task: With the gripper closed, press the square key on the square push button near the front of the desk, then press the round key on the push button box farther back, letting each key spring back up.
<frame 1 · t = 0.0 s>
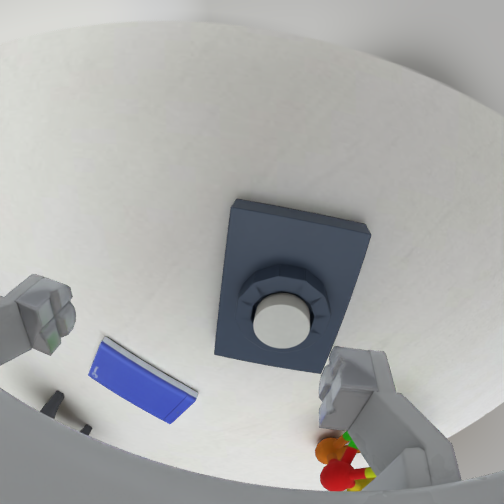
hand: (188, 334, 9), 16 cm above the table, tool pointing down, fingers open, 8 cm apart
planter: (66, 408, 43), on the table
push button box: (284, 289, 26), on the table
molecular model: (369, 424, 34), on the table
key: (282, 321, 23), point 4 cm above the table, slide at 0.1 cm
hard drive: (141, 379, 35), on the table
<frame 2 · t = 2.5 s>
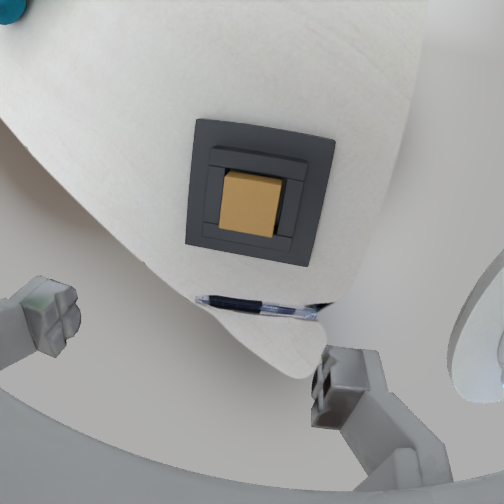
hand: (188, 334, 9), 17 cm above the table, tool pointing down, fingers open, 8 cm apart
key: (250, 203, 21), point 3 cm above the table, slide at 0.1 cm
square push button: (256, 191, 24), on the table
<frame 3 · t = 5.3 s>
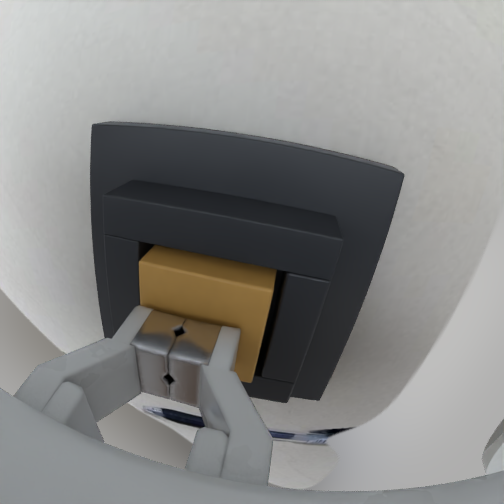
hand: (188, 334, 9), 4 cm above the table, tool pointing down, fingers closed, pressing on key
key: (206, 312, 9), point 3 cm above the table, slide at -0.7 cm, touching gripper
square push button: (224, 270, 12), on the table
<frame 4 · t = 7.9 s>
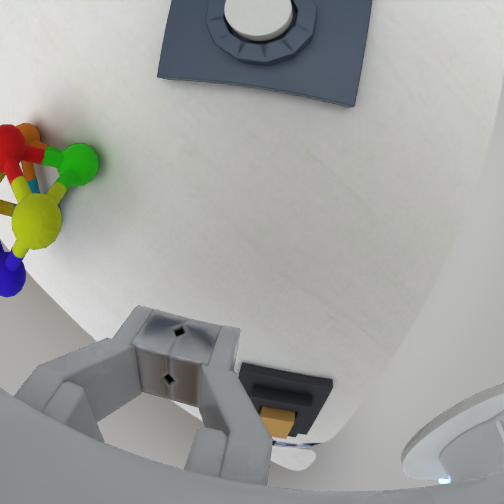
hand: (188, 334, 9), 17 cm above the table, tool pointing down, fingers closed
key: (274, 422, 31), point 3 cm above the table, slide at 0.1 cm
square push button: (277, 399, 34), on the table
push button box: (266, 27, 19), on the table
molecular model: (61, 180, 27), on the table
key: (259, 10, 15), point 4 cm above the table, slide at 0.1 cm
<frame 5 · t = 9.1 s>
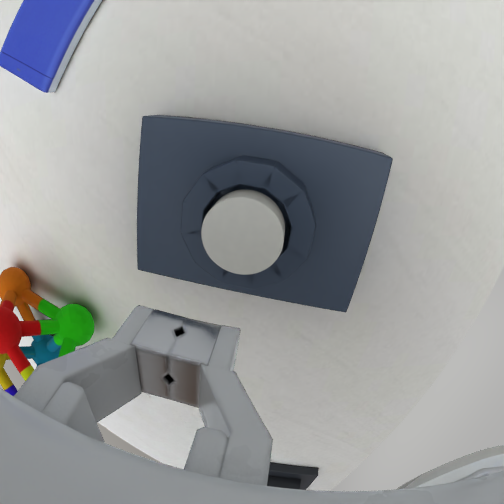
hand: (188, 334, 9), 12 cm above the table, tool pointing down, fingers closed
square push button: (272, 477, 35), on the table
push button box: (255, 206, 20), on the table
molecular model: (60, 320, 28), on the table
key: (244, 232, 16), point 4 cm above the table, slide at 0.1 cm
hard drive: (63, 7, 15), on the table
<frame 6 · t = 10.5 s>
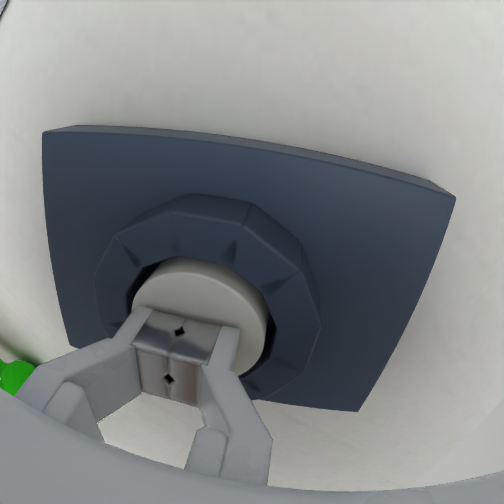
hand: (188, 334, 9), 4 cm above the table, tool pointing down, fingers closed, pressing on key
push button box: (224, 265, 13), on the table
molecular model: (14, 370, 20), on the table
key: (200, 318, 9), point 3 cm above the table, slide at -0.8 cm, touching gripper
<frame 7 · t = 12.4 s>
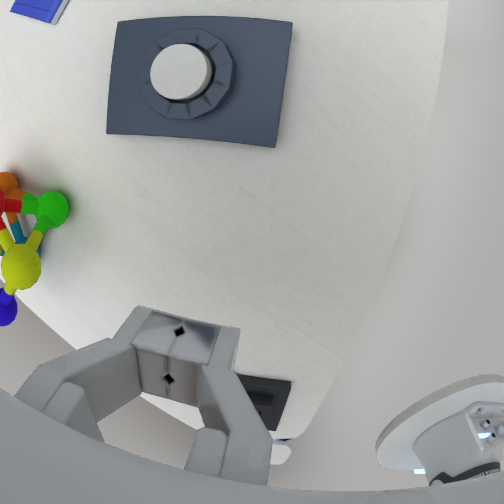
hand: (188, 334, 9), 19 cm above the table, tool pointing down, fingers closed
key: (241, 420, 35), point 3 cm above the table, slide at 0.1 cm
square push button: (245, 400, 38), on the table
push button box: (197, 77, 23), on the table
molecular model: (40, 220, 30), on the table
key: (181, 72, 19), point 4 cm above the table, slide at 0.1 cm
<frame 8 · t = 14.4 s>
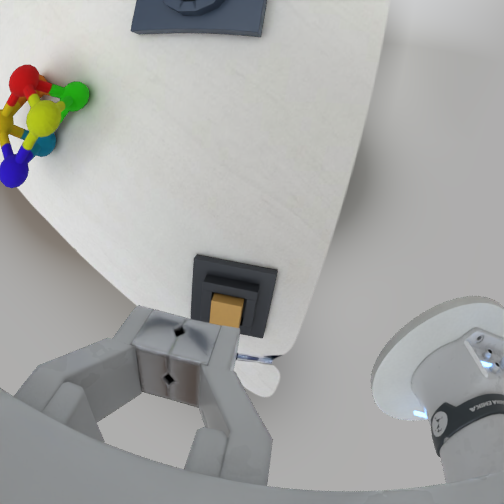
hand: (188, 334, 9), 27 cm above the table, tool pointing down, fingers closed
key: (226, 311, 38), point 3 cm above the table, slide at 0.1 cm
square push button: (231, 296, 41), on the table
molecular model: (61, 115, 33), on the table
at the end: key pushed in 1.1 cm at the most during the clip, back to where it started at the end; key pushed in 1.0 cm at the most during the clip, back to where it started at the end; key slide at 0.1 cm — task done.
